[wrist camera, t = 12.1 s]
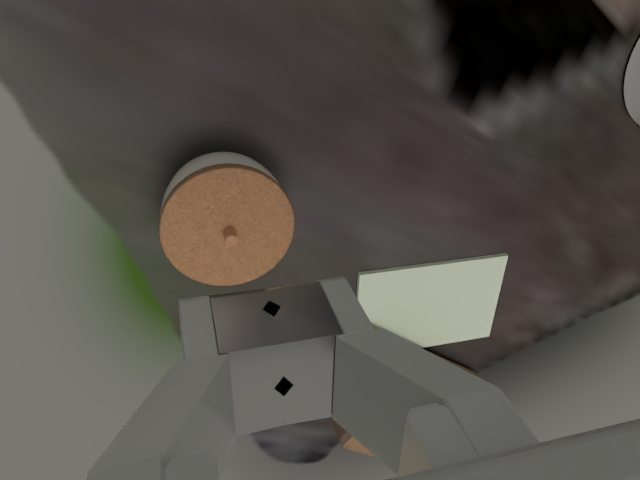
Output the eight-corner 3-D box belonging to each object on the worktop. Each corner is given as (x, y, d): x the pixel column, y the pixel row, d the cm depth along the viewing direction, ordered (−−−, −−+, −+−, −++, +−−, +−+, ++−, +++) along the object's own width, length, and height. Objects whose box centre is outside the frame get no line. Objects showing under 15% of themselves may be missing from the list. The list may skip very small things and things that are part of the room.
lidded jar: (246, 113, 46) (265, 151, 38) (294, 210, 52) (319, 261, 44) (134, 168, 46) (129, 218, 38) (195, 259, 52) (202, 318, 44)
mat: (505, 252, 62) (508, 255, 61) (486, 333, 68) (489, 336, 67) (357, 272, 58) (359, 275, 57) (351, 356, 64) (353, 359, 63)
